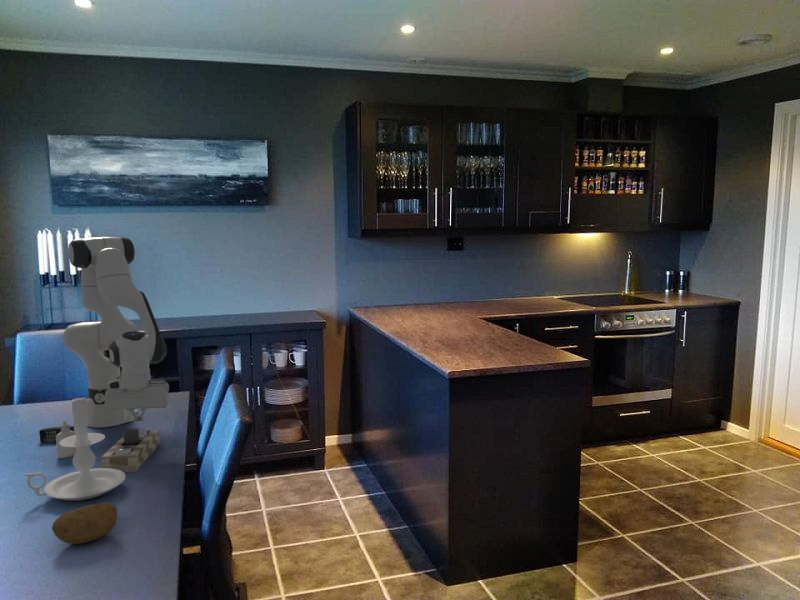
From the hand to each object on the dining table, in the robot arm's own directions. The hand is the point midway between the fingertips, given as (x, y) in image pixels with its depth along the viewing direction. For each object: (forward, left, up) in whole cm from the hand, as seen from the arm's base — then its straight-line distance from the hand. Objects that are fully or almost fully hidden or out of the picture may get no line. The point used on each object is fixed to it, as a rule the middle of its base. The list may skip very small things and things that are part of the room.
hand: (138, 420), depth 210 cm
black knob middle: (+9, 0, -6) cm, 10 cm away
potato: (+63, +7, -10) cm, 64 cm away
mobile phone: (-11, -30, -10) cm, 33 cm away
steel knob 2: (+1, 0, -9) cm, 9 cm away
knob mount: (+9, 0, -10) cm, 13 cm away
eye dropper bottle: (+5, -22, -10) cm, 24 cm away
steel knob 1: (+17, 0, -9) cm, 19 cm away
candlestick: (+36, -6, -10) cm, 38 cm away
